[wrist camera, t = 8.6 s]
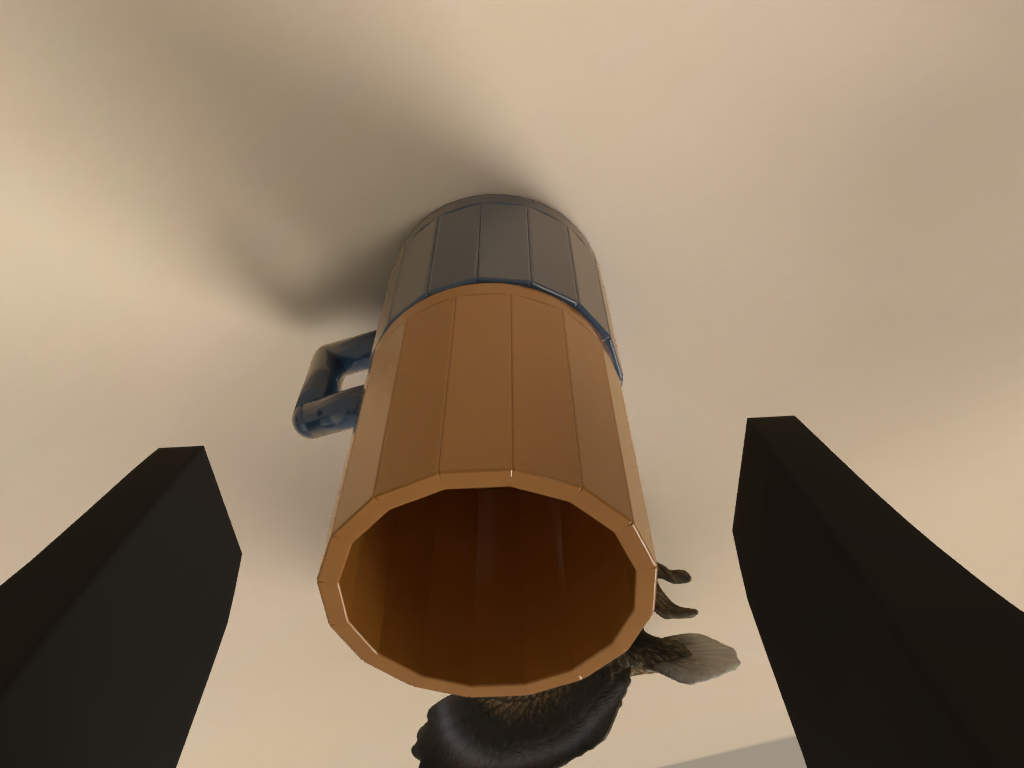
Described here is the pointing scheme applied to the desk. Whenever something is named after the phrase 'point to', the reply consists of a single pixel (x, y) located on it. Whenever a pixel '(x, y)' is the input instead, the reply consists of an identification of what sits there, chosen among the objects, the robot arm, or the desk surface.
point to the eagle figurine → (566, 703)
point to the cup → (456, 262)
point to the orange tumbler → (490, 501)
